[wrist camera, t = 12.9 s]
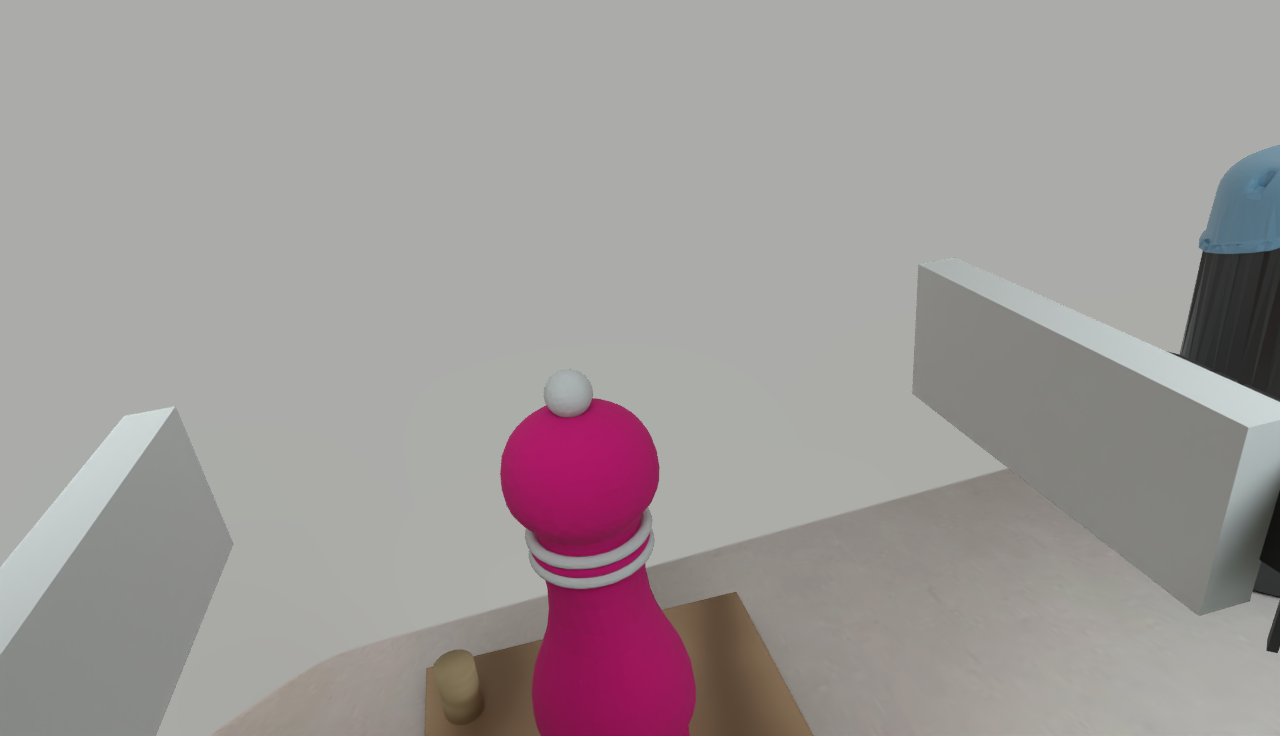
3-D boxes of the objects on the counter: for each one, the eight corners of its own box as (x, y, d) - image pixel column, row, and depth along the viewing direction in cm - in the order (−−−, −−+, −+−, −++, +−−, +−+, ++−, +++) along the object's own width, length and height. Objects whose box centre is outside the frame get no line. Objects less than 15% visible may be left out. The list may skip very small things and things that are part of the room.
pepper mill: (515, 792, 35) (419, 400, 26) (601, 678, 40) (544, 324, 32) (654, 863, 31) (594, 436, 23) (727, 727, 37) (700, 344, 28)
